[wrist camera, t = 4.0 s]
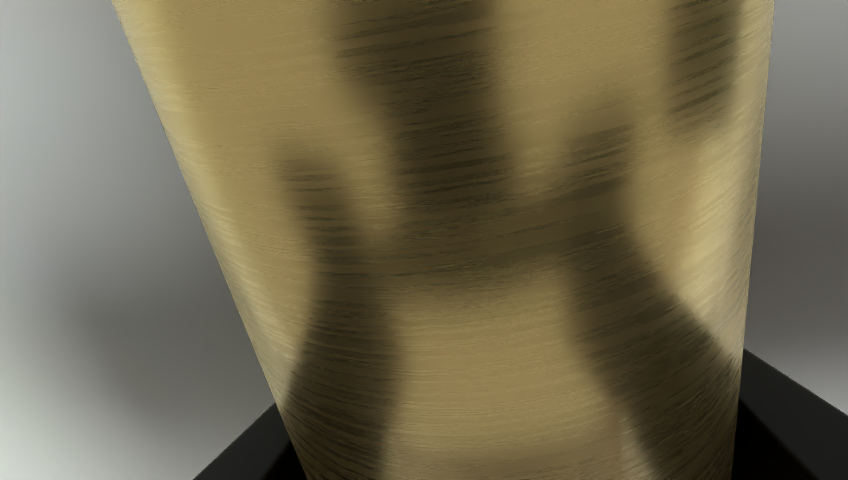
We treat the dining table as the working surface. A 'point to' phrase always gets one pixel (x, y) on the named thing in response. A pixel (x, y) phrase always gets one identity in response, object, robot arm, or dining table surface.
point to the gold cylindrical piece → (478, 222)
